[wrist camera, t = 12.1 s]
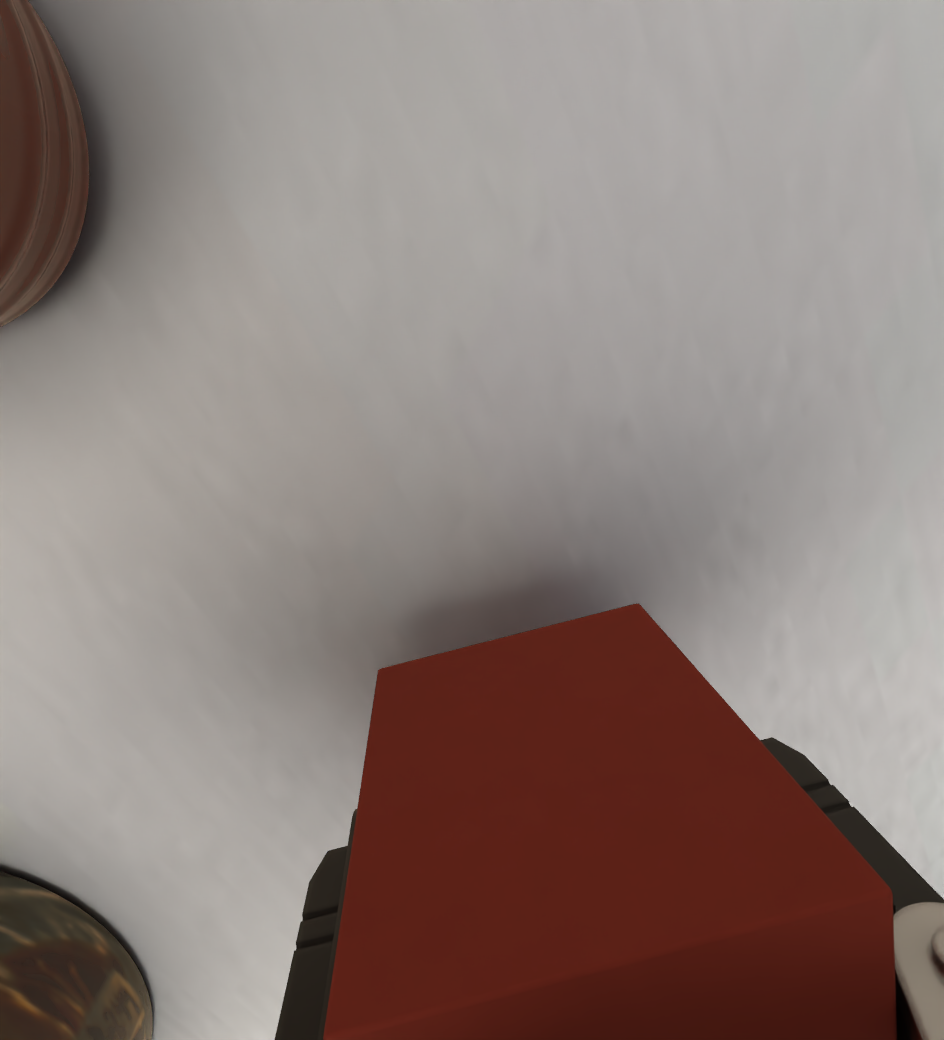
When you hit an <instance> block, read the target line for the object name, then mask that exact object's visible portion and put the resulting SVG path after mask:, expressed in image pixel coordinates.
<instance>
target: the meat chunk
mask: <svg viewBox="0 0 944 1040" xmlns="http://www.w3.org/2000/svg"><path fill="white" fill-rule="evenodd" d="M323 1040H897V1018H896V986H895V954H894V922H893V894H892V891H891V889H890V887H889V886H888V885H887V884H886V883H885V881H884V880H883V879H882V878H881V877H880V876H879V875H878V874H877V872H876V871H875V870H874V869H873V868H872V867H871V866H870V864H869V863H868V862H867V861H866V860H865V859H864V858H863V857H862V855H861V854H860V853H859V852H858V851H857V850H856V849H855V848H854V846H853V845H852V844H851V843H850V842H849V841H848V840H847V838H846V837H845V836H844V835H843V834H842V833H841V832H840V831H839V829H838V828H837V827H836V826H835V825H834V824H833V823H832V821H831V820H830V819H829V818H828V817H827V816H826V815H825V814H824V812H823V811H822V810H821V809H820V808H819V807H818V806H817V804H816V803H815V802H814V801H813V800H812V799H811V798H810V797H809V795H808V794H807V793H806V792H805V791H804V790H803V789H802V788H801V786H800V785H799V784H798V783H797V782H796V781H795V780H794V778H793V777H792V776H791V775H790V774H789V773H788V772H787V771H786V769H785V768H784V767H783V766H782V765H781V764H780V763H779V761H778V760H777V759H776V758H775V757H774V756H773V755H772V754H771V752H770V751H769V750H768V749H767V748H766V747H765V746H764V745H763V743H762V742H761V741H760V740H759V739H758V738H757V737H756V735H755V734H754V733H753V732H752V731H751V730H750V729H749V728H748V726H747V725H746V724H745V723H744V722H743V721H742V720H741V718H740V717H739V716H738V715H737V714H736V713H735V712H734V711H733V709H732V708H731V707H730V706H729V705H728V704H727V703H726V702H725V700H724V699H723V698H722V697H721V696H720V695H719V694H718V692H717V691H716V690H715V689H714V688H713V687H712V686H711V685H710V683H709V682H708V681H707V680H706V679H705V678H704V677H703V675H702V674H701V673H700V672H699V671H698V670H697V669H696V668H695V666H694V665H693V664H692V663H691V662H690V661H689V660H688V658H687V657H686V656H685V655H684V654H683V653H682V652H681V651H680V649H679V648H678V647H677V646H676V645H675V644H674V643H673V642H672V640H671V639H670V638H669V637H668V636H667V635H666V634H665V632H664V631H663V630H662V629H661V628H660V627H659V626H658V625H657V623H656V622H655V621H654V620H653V619H652V618H651V617H650V615H649V614H648V613H647V612H646V611H645V610H644V609H643V608H642V606H641V605H640V604H632V605H629V606H625V607H621V608H617V609H613V610H609V611H605V612H601V613H597V614H593V615H589V616H585V617H581V618H577V619H574V620H570V621H566V622H562V623H558V624H554V625H550V626H546V627H542V628H538V629H534V630H530V631H526V632H522V633H518V634H515V635H511V636H507V637H503V638H499V639H495V640H491V641H487V642H483V643H479V644H475V645H471V646H467V647H463V648H460V649H456V650H452V651H448V652H444V653H440V654H436V655H432V656H428V657H424V658H420V659H416V660H412V661H408V662H405V663H401V664H397V665H393V666H389V667H385V668H381V669H379V670H378V675H377V681H376V688H375V695H374V701H373V708H372V715H371V721H370V728H369V735H368V741H367V748H366V755H365V761H364V768H363V775H362V782H361V788H360V795H359V802H358V808H357V815H356V822H355V828H354V835H353V842H352V848H351V855H350V862H349V868H348V875H347V882H346V889H345V895H344V902H343V909H342V915H341V922H340V929H339V935H338V942H337V949H336V955H335V962H334V969H333V975H332V982H331V989H330V996H329V1002H328V1009H327V1016H326V1022H325V1029H324V1036H323Z"/></svg>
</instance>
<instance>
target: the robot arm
mask: <svg viewBox="0 0 944 1040" xmlns="http://www.w3.org/2000/svg"><path fill="white" fill-rule="evenodd" d="M760 741H761V742H762V743H763V745H764V746H765V747H766V748H767V749H768V750H769V751H770V752H771V754H772V755H773V756H774V757H775V758H776V759H777V760H778V761H779V763H780V764H781V765H782V766H783V767H784V768H785V769H786V771H787V772H788V773H789V774H790V775H791V776H792V777H793V778H794V780H795V781H796V782H797V783H798V784H799V785H800V786H801V788H802V789H803V790H804V791H805V792H806V793H807V794H808V795H809V797H810V798H811V799H812V800H813V801H814V802H815V803H816V804H817V806H818V807H819V808H820V809H821V810H822V811H823V812H824V814H825V815H826V816H827V817H828V818H829V819H830V820H831V821H832V823H833V824H834V825H835V826H836V827H837V828H838V829H839V831H840V832H841V833H842V834H843V835H844V836H845V837H846V838H847V840H848V841H849V842H850V843H851V844H852V845H853V846H854V848H855V849H856V850H857V851H858V852H859V853H860V854H861V855H862V857H863V858H864V859H865V860H866V861H867V862H868V863H869V864H870V866H871V867H872V868H873V869H874V870H875V871H876V872H877V874H878V875H879V876H880V877H881V878H882V879H883V880H884V881H885V883H886V884H887V885H888V886H889V887H890V889H891V891H892V894H893V922H894V954H895V986H896V1018H897V1040H944V899H943V898H942V897H941V896H940V895H939V894H938V893H937V892H936V891H935V890H934V889H933V888H932V887H931V886H930V885H929V884H928V883H927V882H926V881H925V880H924V879H923V878H922V877H921V876H920V875H919V874H918V873H917V872H916V871H915V870H914V869H913V868H912V867H911V865H910V864H909V863H908V862H907V861H906V860H905V859H904V858H903V857H902V856H901V855H900V854H899V853H898V852H897V851H896V850H895V849H894V848H893V847H892V846H891V845H890V844H889V843H888V842H887V841H886V840H885V838H884V837H883V836H882V835H881V834H880V833H879V832H878V831H877V830H876V829H875V828H874V827H873V826H872V825H871V824H870V823H869V822H868V821H867V820H866V819H865V818H864V817H863V816H862V815H861V814H860V813H859V811H858V810H857V809H856V808H855V807H851V806H850V804H849V801H848V800H847V799H846V798H845V797H844V796H843V795H842V794H841V793H840V792H839V791H838V790H837V789H836V788H835V787H834V786H833V785H830V784H829V781H828V779H827V778H826V777H825V776H824V775H823V774H822V773H821V772H820V771H819V770H818V769H817V768H816V767H815V766H814V765H813V764H812V763H811V762H810V761H809V760H808V758H807V757H806V756H805V755H803V754H801V753H800V752H798V751H796V750H794V749H792V748H790V747H789V746H787V745H785V744H783V743H781V742H780V741H778V740H776V739H774V738H768V739H764V740H760ZM356 815H357V809H355V811H354V813H353V816H352V822H351V828H350V835H349V841H348V846H345V847H341V848H337V849H333V850H330V851H328V852H327V853H326V855H325V857H324V858H323V860H322V862H321V863H320V865H319V867H318V868H317V870H316V872H315V873H314V875H313V877H312V878H311V880H310V882H309V886H308V891H307V895H306V900H305V905H304V909H303V914H302V916H303V921H302V922H301V923H300V927H299V932H298V936H297V941H296V946H297V949H296V951H294V955H293V959H292V964H291V968H290V973H289V977H288V982H287V987H286V991H285V996H284V1000H283V1005H282V1009H281V1014H280V1018H279V1023H278V1027H277V1032H276V1037H275V1040H323V1036H324V1029H325V1022H326V1016H327V1009H328V1002H329V996H330V989H331V982H332V975H333V969H334V962H335V955H336V949H337V942H338V935H339V929H340V922H341V915H342V909H343V902H344V895H345V889H346V882H347V875H348V868H349V862H350V855H351V848H352V842H353V835H354V828H355V822H356Z"/></svg>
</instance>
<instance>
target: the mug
mask: <svg viewBox="0 0 944 1040" xmlns="http://www.w3.org/2000/svg"><path fill="white" fill-rule="evenodd" d="M88 191H89V155H88V145H87V137H86V132H85V127H84V122H83V117H82V113H81V109H80V106H79V102H78V99H77V95H76V92H75V89H74V86H73V84H72V81H71V78H70V76H69V73H68V70H67V68H66V66H65V63H64V61H63V59H62V57H61V55H60V53H59V51H58V49H57V46H56V44H55V42H54V41H53V39H52V37H51V35H50V34H49V32H48V30H47V28H46V27H45V25H44V23H43V21H42V20H41V18H40V17H39V15H38V14H37V12H36V11H35V9H34V8H33V6H32V5H31V3H30V2H29V0H0V327H1V326H3V325H5V324H7V323H9V322H11V321H13V320H14V319H16V318H17V317H19V316H20V315H22V314H23V313H25V312H26V311H28V310H29V309H30V308H31V307H32V306H33V305H35V304H36V303H37V302H38V301H39V300H40V299H41V298H42V297H43V296H44V295H45V294H46V293H47V292H48V291H49V290H50V289H51V287H52V286H53V285H54V284H55V282H56V281H57V279H58V278H59V277H60V275H61V274H62V273H63V271H64V269H65V267H66V265H67V264H68V262H69V260H70V258H71V257H72V254H73V252H74V249H75V247H76V245H77V242H78V240H79V237H80V233H81V230H82V226H83V223H84V219H85V213H86V208H87V202H88Z"/></svg>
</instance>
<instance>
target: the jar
mask: <svg viewBox="0 0 944 1040" xmlns="http://www.w3.org/2000/svg"><path fill="white" fill-rule="evenodd" d="M152 1029H153V1016H152V1008H151V1002H150V998H149V994H148V990H147V988H146V985H145V983H144V980H143V978H142V976H141V974H140V972H139V970H138V968H137V966H136V964H135V963H134V961H133V960H132V958H131V957H130V955H129V954H128V953H127V951H126V950H125V949H124V948H123V946H122V945H121V944H120V943H119V942H118V940H117V939H116V938H115V937H114V936H113V935H112V934H111V933H110V932H109V931H108V930H107V929H106V928H105V927H103V926H102V925H101V924H100V923H99V922H97V921H96V920H95V919H94V918H93V917H91V916H90V915H89V914H87V913H86V912H84V911H83V910H81V909H80V908H79V907H77V906H76V905H74V904H72V903H71V902H69V901H67V900H66V899H64V898H62V897H60V896H59V895H57V894H55V893H53V892H51V891H49V890H47V889H45V888H43V887H41V886H38V885H36V884H33V883H31V882H29V881H26V880H24V879H21V878H18V877H15V876H12V875H10V874H7V873H4V872H1V871H0V1040H151V1037H152Z"/></svg>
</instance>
